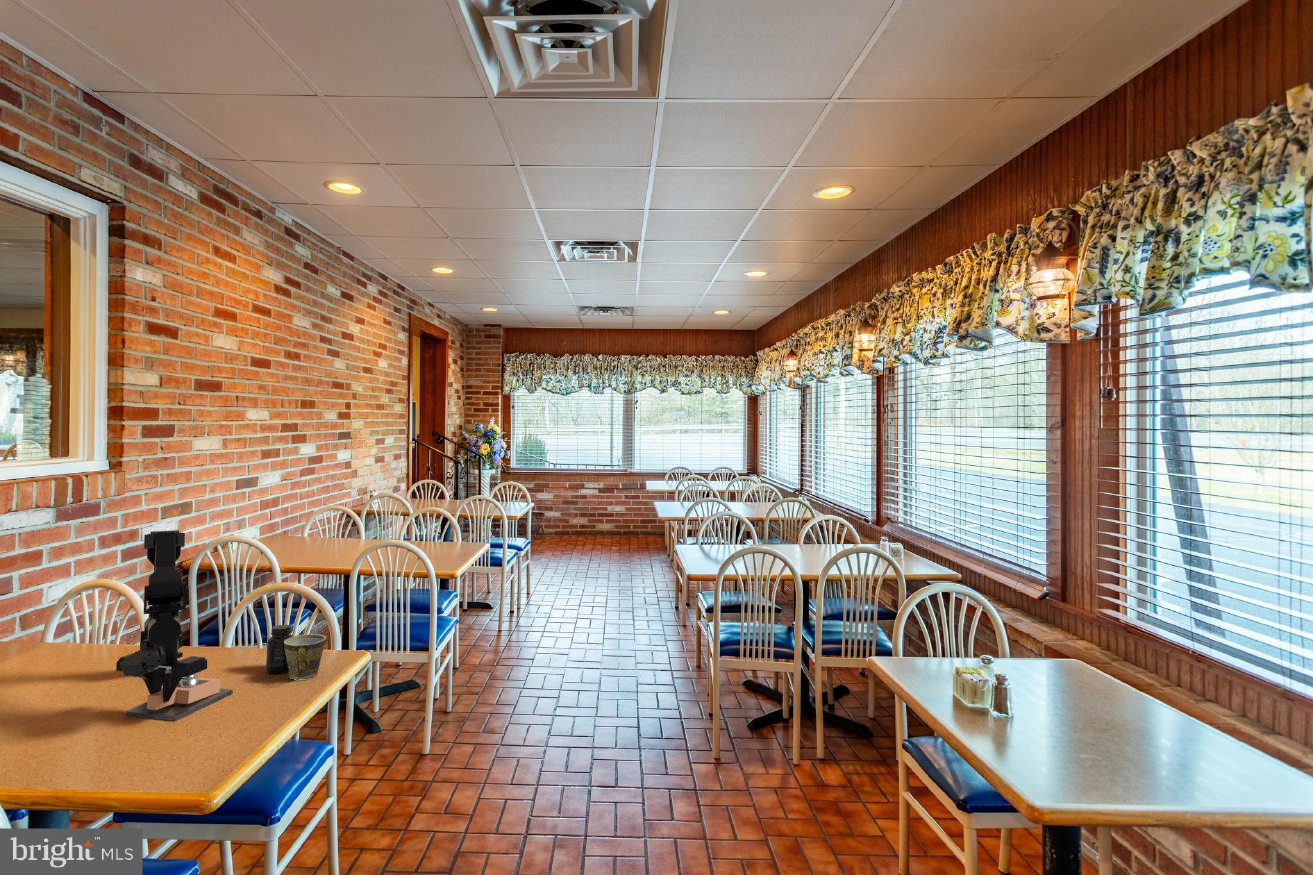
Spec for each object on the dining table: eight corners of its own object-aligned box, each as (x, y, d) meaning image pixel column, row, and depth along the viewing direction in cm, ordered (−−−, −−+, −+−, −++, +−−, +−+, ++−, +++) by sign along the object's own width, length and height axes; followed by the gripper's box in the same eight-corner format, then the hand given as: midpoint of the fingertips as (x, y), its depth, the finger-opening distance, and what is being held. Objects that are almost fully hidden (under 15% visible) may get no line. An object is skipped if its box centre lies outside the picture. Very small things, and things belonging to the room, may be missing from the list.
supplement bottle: (299, 666, 179) (301, 624, 179) (283, 675, 172) (285, 631, 173) (277, 665, 180) (278, 622, 180) (259, 673, 173) (261, 629, 173)
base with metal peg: (125, 715, 145) (126, 688, 145) (186, 689, 161) (187, 664, 161) (175, 721, 144) (176, 692, 144) (232, 693, 159) (233, 668, 159)
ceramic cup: (286, 671, 175) (287, 635, 175) (327, 668, 179) (328, 632, 179) (276, 689, 163) (278, 650, 163) (320, 685, 167) (321, 646, 167)
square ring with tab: (134, 707, 145) (135, 694, 146) (187, 688, 159) (188, 676, 159) (168, 711, 144) (170, 697, 144) (219, 691, 158) (220, 679, 158)
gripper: (93, 640, 140) (90, 711, 140) (167, 647, 138) (164, 719, 138) (140, 626, 152) (138, 692, 151) (210, 632, 149) (207, 699, 149)
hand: (160, 701), depth 147 cm, fingers closed on square ring with tab, 2 cm apart
